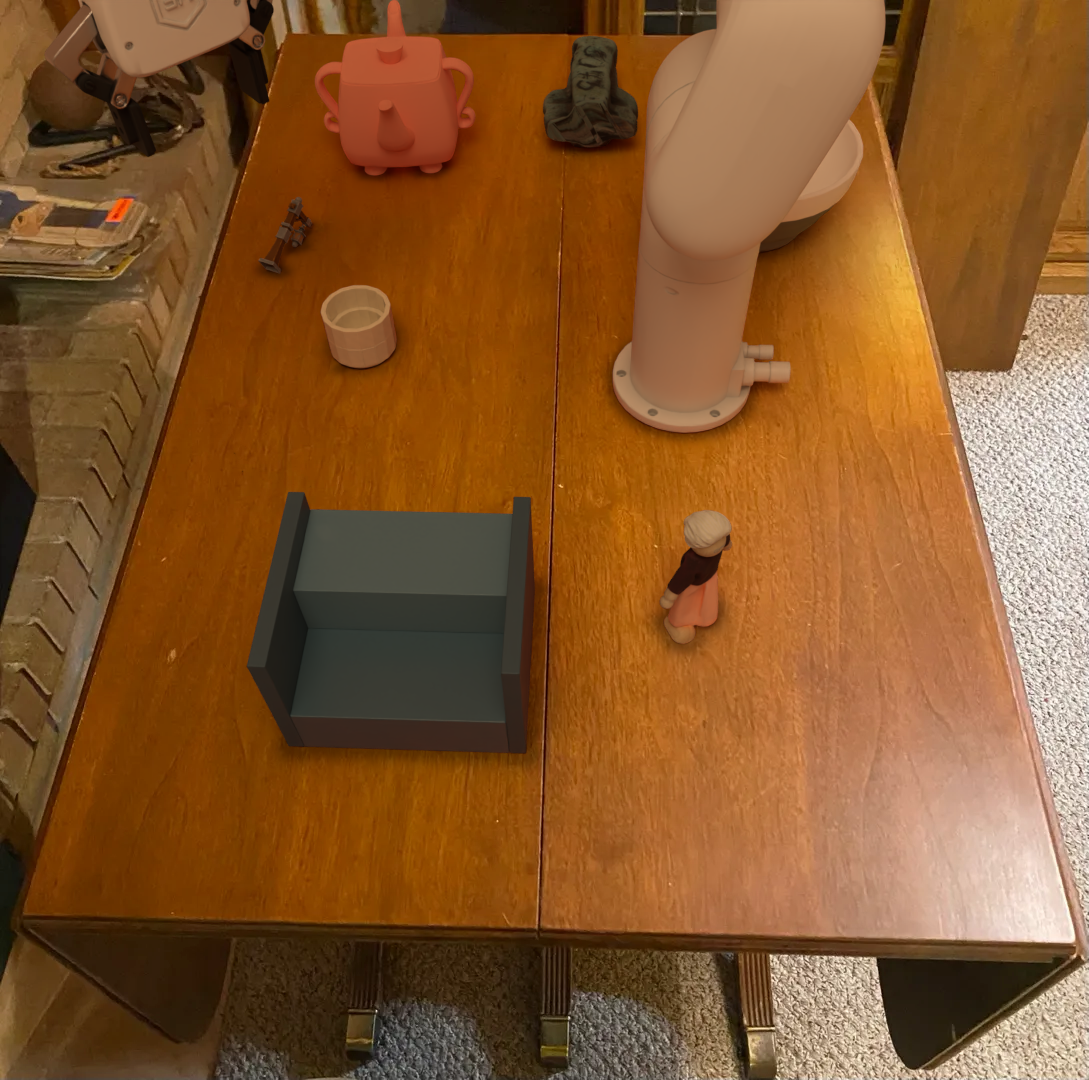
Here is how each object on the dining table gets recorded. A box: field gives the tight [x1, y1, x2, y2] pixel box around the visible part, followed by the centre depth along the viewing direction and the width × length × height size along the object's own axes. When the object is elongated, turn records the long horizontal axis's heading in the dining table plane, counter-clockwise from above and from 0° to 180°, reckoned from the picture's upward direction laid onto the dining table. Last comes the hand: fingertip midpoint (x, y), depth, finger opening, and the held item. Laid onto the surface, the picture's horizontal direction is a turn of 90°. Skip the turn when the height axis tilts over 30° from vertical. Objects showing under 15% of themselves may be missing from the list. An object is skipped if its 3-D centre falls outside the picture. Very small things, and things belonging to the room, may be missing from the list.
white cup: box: [320, 284, 398, 369], centre depth 96 cm, size 6×6×5 cm
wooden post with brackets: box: [257, 196, 314, 274], centre depth 105 cm, size 2×8×4 cm, turn 156°
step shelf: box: [246, 491, 536, 754], centre depth 73 cm, size 17×14×12 cm
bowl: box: [759, 118, 864, 253], centre depth 104 cm, size 20×20×10 cm
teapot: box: [314, 0, 477, 176], centre depth 111 cm, size 15×17×13 cm
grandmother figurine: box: [659, 509, 733, 645], centre depth 74 cm, size 8×4×13 cm, turn 148°
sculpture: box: [542, 35, 639, 148], centre depth 116 cm, size 12×8×15 cm
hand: (200, 121), depth 76 cm, fingers open, 9 cm apart
